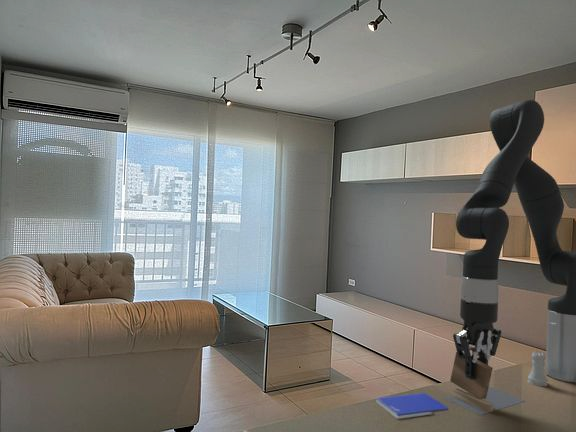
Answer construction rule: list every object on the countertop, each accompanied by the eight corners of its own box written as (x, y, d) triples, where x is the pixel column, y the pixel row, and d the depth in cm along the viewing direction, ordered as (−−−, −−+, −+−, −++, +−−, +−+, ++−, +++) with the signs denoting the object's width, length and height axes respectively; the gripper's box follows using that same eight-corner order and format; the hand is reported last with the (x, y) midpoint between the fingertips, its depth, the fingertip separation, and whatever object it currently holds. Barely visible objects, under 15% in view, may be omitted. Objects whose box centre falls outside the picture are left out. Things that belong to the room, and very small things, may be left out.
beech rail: (456, 395, 99) (457, 388, 99) (492, 411, 91) (493, 404, 91) (452, 396, 98) (452, 389, 98) (488, 412, 91) (488, 405, 91)
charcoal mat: (489, 388, 105) (489, 386, 105) (525, 403, 97) (525, 401, 97) (444, 400, 97) (444, 398, 97) (479, 417, 89) (479, 415, 89)
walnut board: (455, 380, 101) (461, 351, 101) (486, 398, 94) (492, 367, 94) (450, 381, 100) (456, 352, 100) (480, 399, 93) (486, 368, 93)
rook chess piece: (551, 386, 109) (552, 354, 109) (542, 389, 106) (543, 356, 106) (532, 380, 112) (533, 349, 112) (523, 383, 110) (524, 351, 110)
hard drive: (397, 413, 87) (448, 407, 92) (376, 397, 95) (423, 392, 99) (397, 421, 87) (448, 414, 91) (375, 404, 95) (423, 398, 99)
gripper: (484, 293, 102) (481, 367, 102) (443, 297, 95) (440, 376, 95) (514, 299, 96) (511, 378, 96) (473, 303, 89) (470, 388, 89)
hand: (476, 376), depth 96 cm, fingers open, 3 cm apart
